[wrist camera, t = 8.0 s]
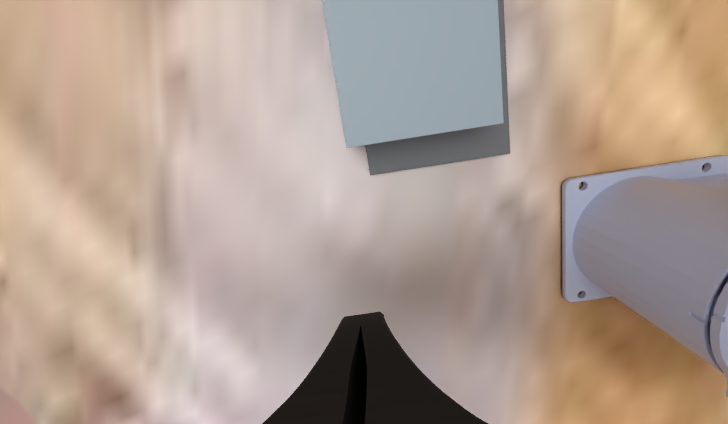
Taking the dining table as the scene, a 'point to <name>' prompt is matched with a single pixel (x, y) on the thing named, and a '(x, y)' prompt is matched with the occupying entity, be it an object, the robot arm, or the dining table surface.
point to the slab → (414, 66)
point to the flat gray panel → (447, 137)
